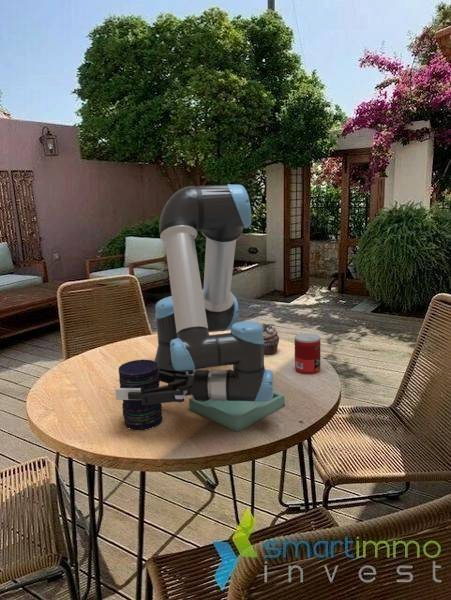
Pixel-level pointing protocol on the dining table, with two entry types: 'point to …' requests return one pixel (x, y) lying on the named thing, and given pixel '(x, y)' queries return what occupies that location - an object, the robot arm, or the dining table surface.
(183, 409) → the dining table surface
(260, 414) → the tray
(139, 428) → the dark blue ribbed cylinder
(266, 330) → the cupcake
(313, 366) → the canned food
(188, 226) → the robot arm
